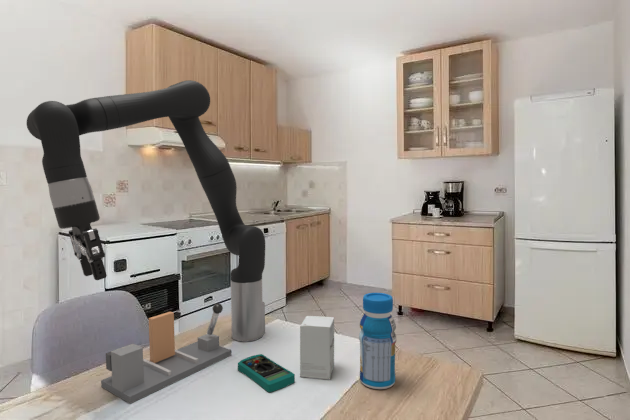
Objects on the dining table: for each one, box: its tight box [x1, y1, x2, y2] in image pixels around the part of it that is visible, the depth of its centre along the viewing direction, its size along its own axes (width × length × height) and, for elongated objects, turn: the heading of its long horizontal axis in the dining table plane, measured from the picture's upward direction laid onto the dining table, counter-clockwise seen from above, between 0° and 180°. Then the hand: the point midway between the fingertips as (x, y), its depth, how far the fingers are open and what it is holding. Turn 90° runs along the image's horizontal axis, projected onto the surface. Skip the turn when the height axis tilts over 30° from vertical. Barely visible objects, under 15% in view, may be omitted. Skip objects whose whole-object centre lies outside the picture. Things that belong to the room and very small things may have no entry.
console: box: [100, 333, 232, 405], centre depth 97 cm, size 28×12×10 cm, turn 144°
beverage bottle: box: [358, 292, 397, 390], centre depth 90 cm, size 8×8×20 cm
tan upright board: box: [148, 311, 176, 363], centre depth 98 cm, size 6×2×11 cm, turn 144°
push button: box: [105, 351, 112, 372], centre depth 89 cm, size 4×2×4 cm, turn 144°
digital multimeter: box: [237, 353, 296, 393], centre depth 94 cm, size 7×15×3 cm, turn 40°
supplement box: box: [299, 315, 335, 381], centre depth 95 cm, size 7×7×13 cm
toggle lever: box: [206, 303, 224, 335], centre depth 104 cm, size 3×3×10 cm
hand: (95, 276), depth 83 cm, fingers open, 8 cm apart
